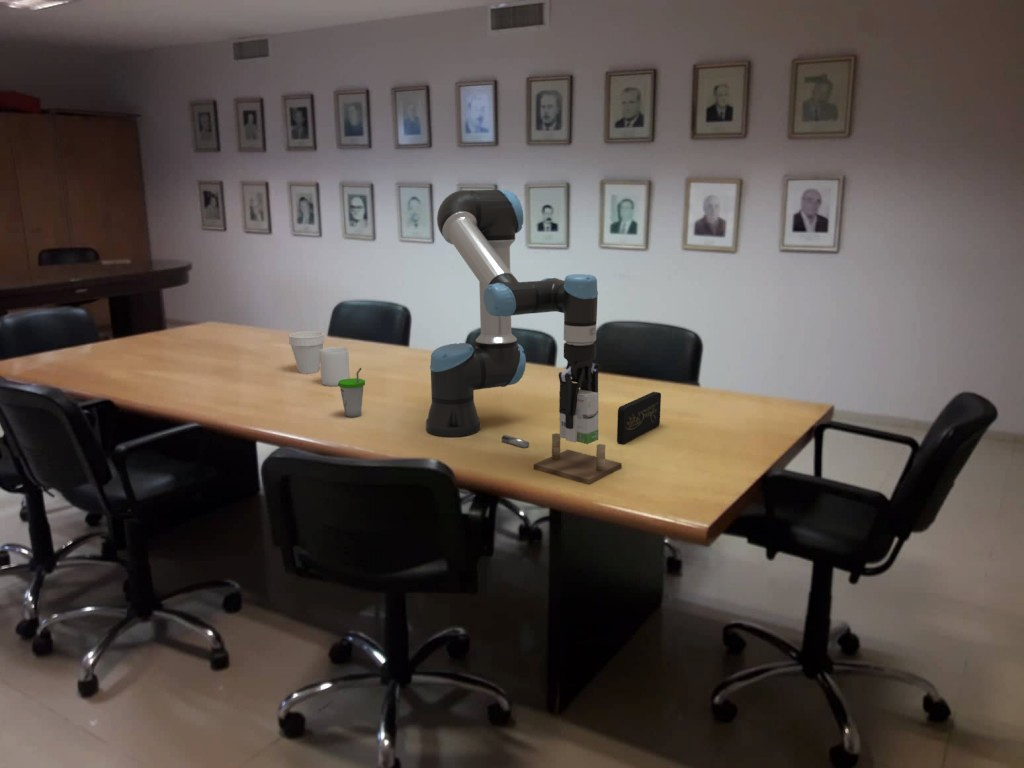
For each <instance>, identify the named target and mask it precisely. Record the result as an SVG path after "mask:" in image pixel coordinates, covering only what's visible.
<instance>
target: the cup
mask: <svg viewBox="0 0 1024 768" xmlns="http://www.w3.org/2000/svg"><path fill="white" fill-rule="evenodd" d="M361 370H362V367H359V368H358V370H357V372H356V375H355V376H356V378H355V377H354V378H353V377H352V378H350V379H343V380H340V381H339V382H338V386H337V387H339V388H340V389H339V390H340V395H341V400H342V404H343V410H344V414H345V415H344V416H345V417H346V418H351V419H352V418H353V419H354V418H358V417H361V416H362V408H363V399H364V397H363V396H364V386H365V385H366V380H365V379H362V378H359V374H360V372H361Z"/></svg>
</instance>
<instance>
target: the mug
mask: <svg viewBox="0 0 1024 768" xmlns="http://www.w3.org/2000/svg"><path fill="white" fill-rule="evenodd" d="M349 360H350V359H349V348H347V347H345V346H331V347H323V348H322V349H320V365H319V366H320V378H321V379H320V380H321V384H322V385H323V386H326V387H339V386H338V382H339V381H340V380H343V379H351V378H350V361H349Z"/></svg>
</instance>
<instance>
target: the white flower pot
mask: <svg viewBox="0 0 1024 768" xmlns="http://www.w3.org/2000/svg"><path fill="white" fill-rule="evenodd" d="M288 337H289V342H288V344H289V345H290V347H291V350H292V353H293V356H294V357H293V358H294V360H295V363H296V366H297V368H298V369H297V370H298V372H299V374H303V375H305V374H306V375H308V374H316V373H318V372H319V370H320V366H321V365H320V349H323V348H324V347H323V346H324V343H325V333H324V332H322V331H321V332H320V331H316V330H315V331H313V330H311V331H310V330H305V331H297V332H293V333H289V335H288Z"/></svg>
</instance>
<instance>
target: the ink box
mask: <svg viewBox="0 0 1024 768" xmlns="http://www.w3.org/2000/svg"><path fill="white" fill-rule="evenodd" d="M558 397H559V399H558V400H559V401H560V390H559V395H558ZM559 401H558V402H559ZM575 415H577V442H576V443H580V444H585V445H589V444H591V443H593V442H597V441H598V440H599V392H598V393H596V392H591V391H586V390H580V388H579V393H578V394H577V405H576V411H575ZM559 434H560V439H565V440H566V427H565V414H562V413H560V412H559Z"/></svg>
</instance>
